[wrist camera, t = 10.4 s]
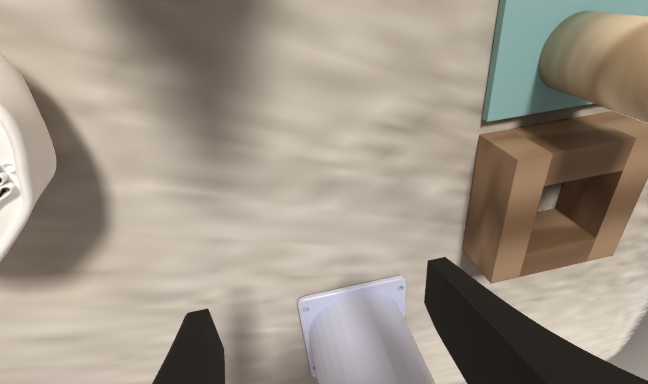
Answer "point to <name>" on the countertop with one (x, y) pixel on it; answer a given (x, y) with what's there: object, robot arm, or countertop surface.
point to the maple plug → (600, 60)
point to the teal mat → (534, 54)
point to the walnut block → (574, 201)
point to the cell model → (20, 154)
